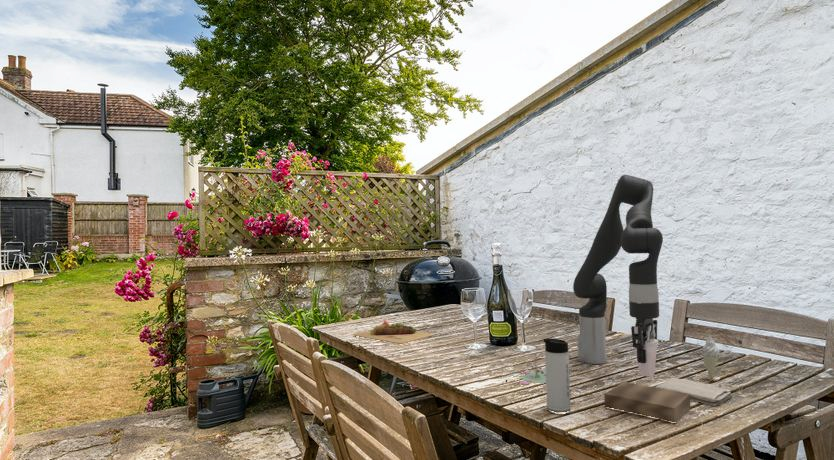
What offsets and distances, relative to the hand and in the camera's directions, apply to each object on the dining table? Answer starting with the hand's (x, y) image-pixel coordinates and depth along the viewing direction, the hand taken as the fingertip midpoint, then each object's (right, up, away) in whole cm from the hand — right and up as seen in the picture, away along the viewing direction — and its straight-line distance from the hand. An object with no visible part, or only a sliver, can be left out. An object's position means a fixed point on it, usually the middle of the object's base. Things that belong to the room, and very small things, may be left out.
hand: (645, 360), depth 134 cm
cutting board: (-76, -18, +106) cm, 132 cm away
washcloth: (+18, -14, +10) cm, 25 cm away
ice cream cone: (+32, -13, +23) cm, 42 cm away
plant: (-26, -15, +26) cm, 40 cm away
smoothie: (0, -4, 0) cm, 4 cm away
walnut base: (0, -13, 0) cm, 13 cm away
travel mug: (-24, -14, 0) cm, 28 cm away
